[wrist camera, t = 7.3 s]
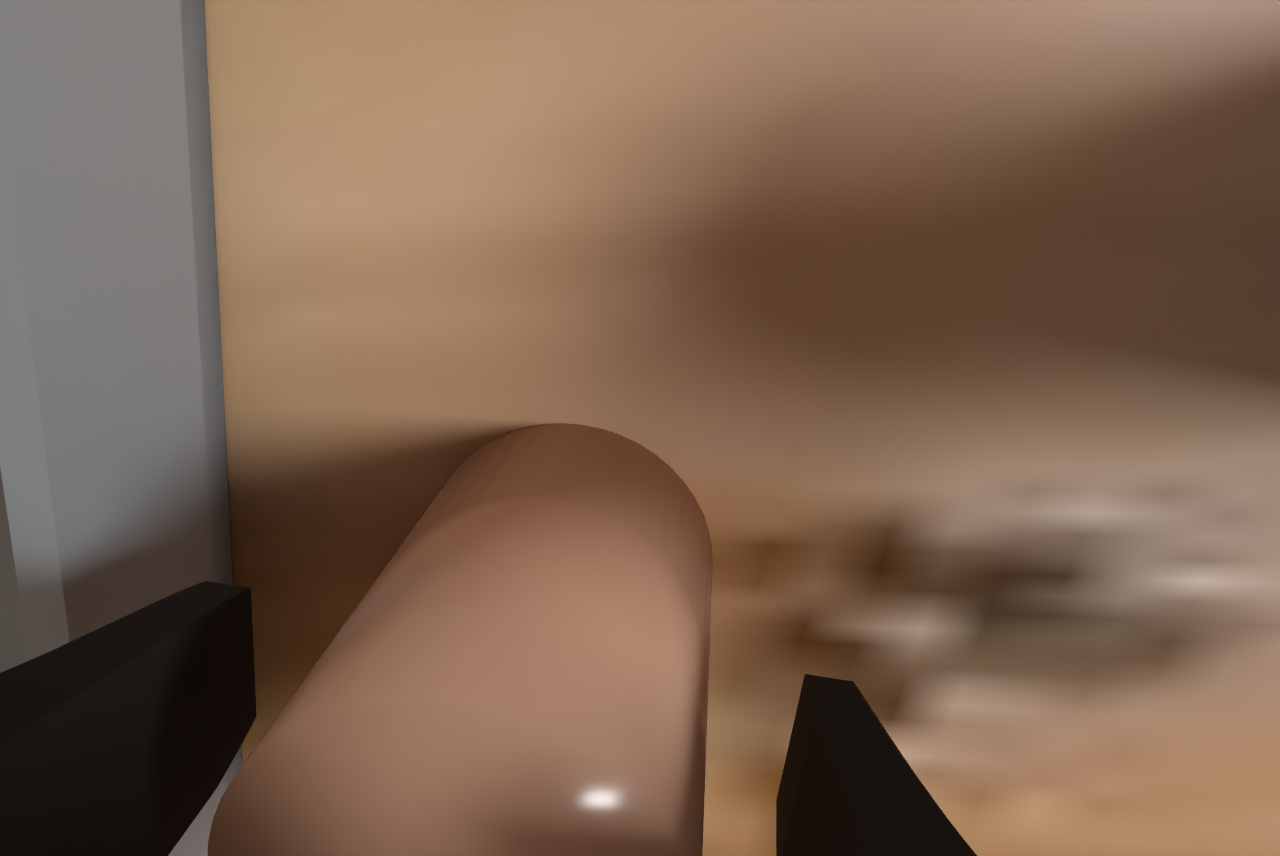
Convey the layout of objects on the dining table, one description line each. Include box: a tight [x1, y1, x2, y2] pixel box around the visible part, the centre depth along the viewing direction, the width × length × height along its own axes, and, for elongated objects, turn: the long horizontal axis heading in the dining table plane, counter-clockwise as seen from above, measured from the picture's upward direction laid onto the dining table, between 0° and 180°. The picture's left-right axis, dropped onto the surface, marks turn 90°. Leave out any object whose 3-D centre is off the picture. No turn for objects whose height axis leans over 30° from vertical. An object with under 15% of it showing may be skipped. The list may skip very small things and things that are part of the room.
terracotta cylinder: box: [208, 424, 713, 856], centre depth 12 cm, size 5×5×7 cm
